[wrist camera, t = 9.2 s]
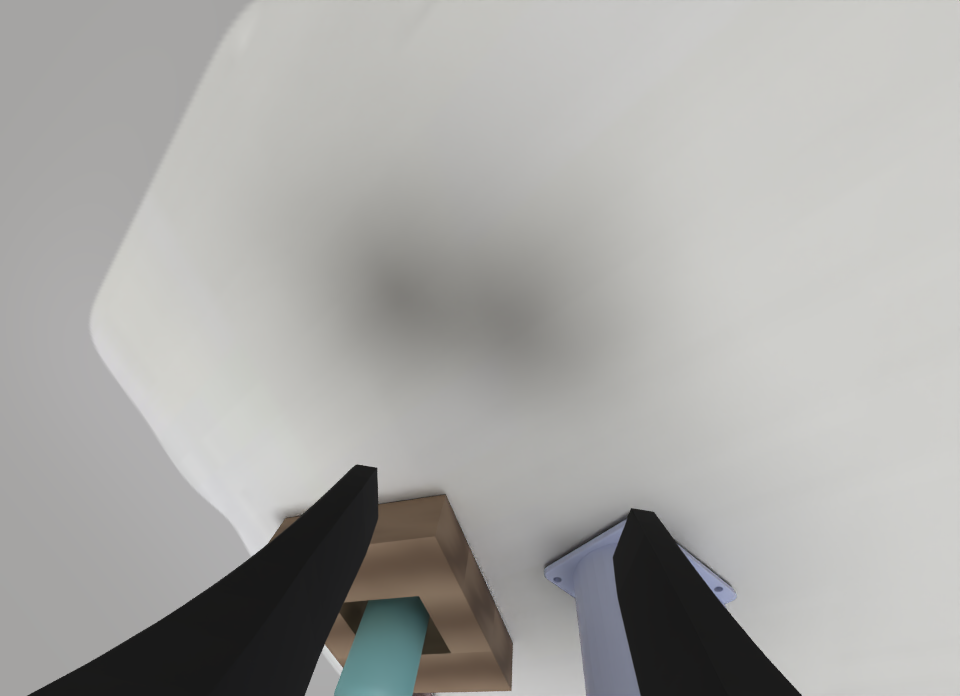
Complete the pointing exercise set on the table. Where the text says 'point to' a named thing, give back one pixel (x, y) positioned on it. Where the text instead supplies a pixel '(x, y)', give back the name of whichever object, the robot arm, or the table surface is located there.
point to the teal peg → (386, 649)
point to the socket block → (430, 597)
